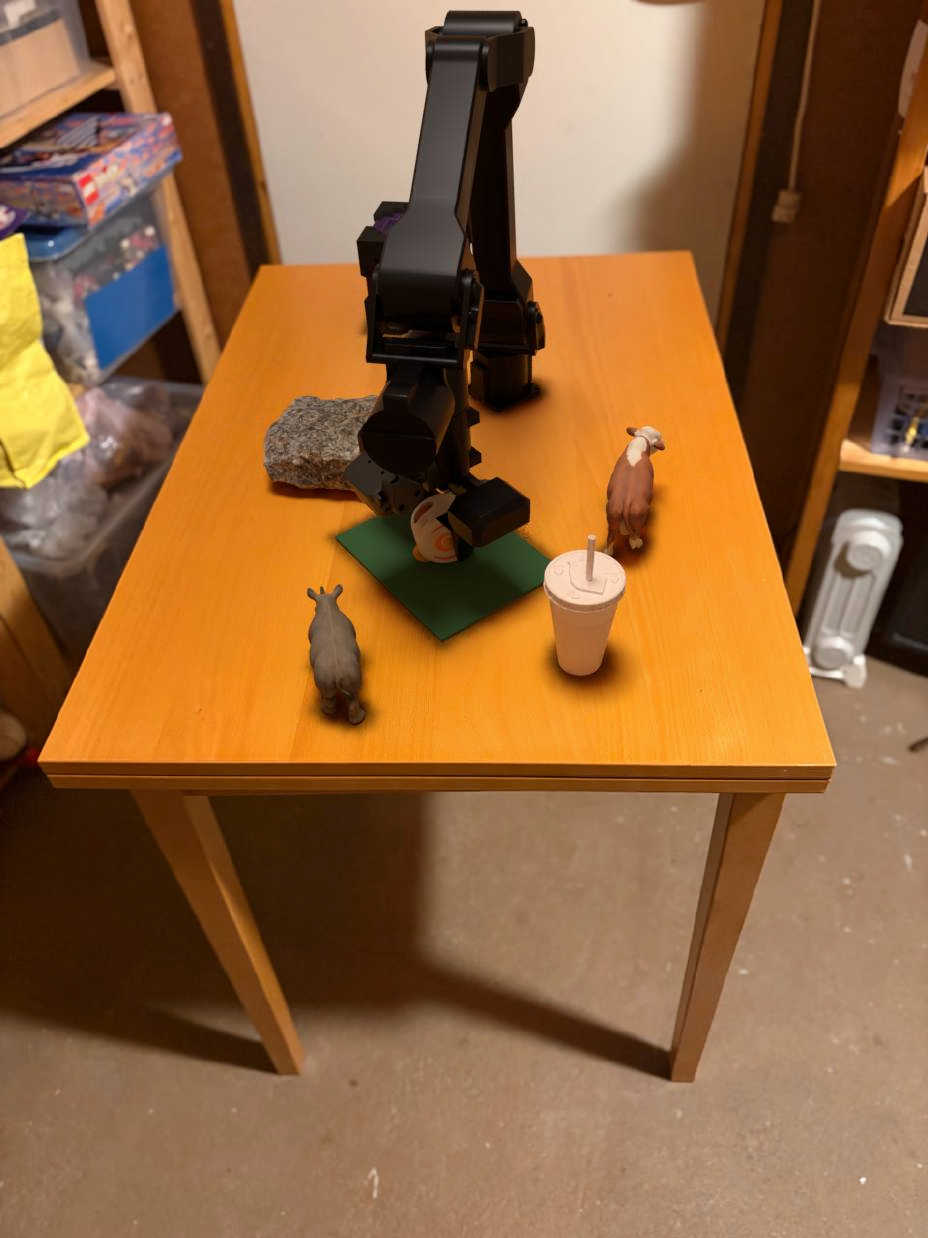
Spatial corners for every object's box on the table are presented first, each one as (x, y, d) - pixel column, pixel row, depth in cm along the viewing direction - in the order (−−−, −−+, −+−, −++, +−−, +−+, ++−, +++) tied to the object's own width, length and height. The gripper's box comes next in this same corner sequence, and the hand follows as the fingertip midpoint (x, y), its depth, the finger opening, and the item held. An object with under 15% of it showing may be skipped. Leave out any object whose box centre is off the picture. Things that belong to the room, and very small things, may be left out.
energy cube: (391, 289, 128) (382, 200, 119) (476, 294, 126) (473, 204, 117) (367, 332, 120) (356, 240, 111) (458, 338, 118) (453, 244, 109)
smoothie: (567, 699, 76) (574, 573, 66) (527, 648, 80) (528, 523, 70) (632, 669, 78) (648, 543, 68) (590, 622, 82) (600, 496, 72)
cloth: (449, 482, 97) (449, 480, 97) (563, 573, 86) (563, 570, 86) (335, 538, 91) (334, 536, 91) (441, 642, 81) (441, 640, 81)
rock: (256, 495, 97) (396, 510, 95) (244, 445, 92) (391, 460, 90) (294, 424, 105) (423, 436, 103) (285, 374, 101) (419, 387, 98)
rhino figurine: (351, 606, 85) (342, 556, 80) (373, 721, 75) (364, 673, 71) (306, 614, 84) (295, 564, 80) (322, 731, 75) (310, 683, 70)
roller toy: (483, 561, 88) (481, 514, 83) (417, 574, 87) (412, 527, 83) (472, 532, 91) (469, 485, 86) (408, 544, 90) (402, 497, 86)
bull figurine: (664, 486, 95) (673, 418, 89) (636, 572, 86) (645, 503, 80) (621, 479, 96) (628, 411, 90) (590, 563, 87) (595, 494, 81)
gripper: (294, 390, 79) (322, 530, 90) (418, 495, 68) (433, 639, 79) (402, 346, 83) (416, 485, 95) (535, 438, 73) (533, 582, 84)
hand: (445, 544), depth 88 cm, fingers closed on roller toy, 5 cm apart
